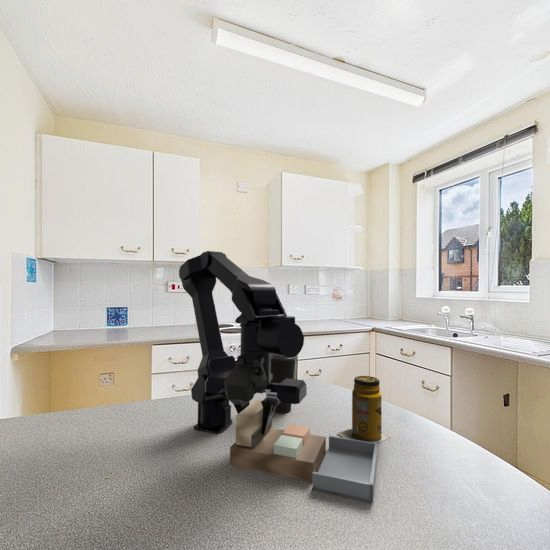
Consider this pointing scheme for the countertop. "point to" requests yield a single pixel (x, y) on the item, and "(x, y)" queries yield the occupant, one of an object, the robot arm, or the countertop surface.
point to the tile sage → (288, 446)
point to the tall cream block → (250, 425)
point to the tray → (348, 469)
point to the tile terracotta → (297, 432)
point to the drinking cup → (282, 376)
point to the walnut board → (280, 456)
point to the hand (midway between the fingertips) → (254, 432)
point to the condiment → (366, 411)
